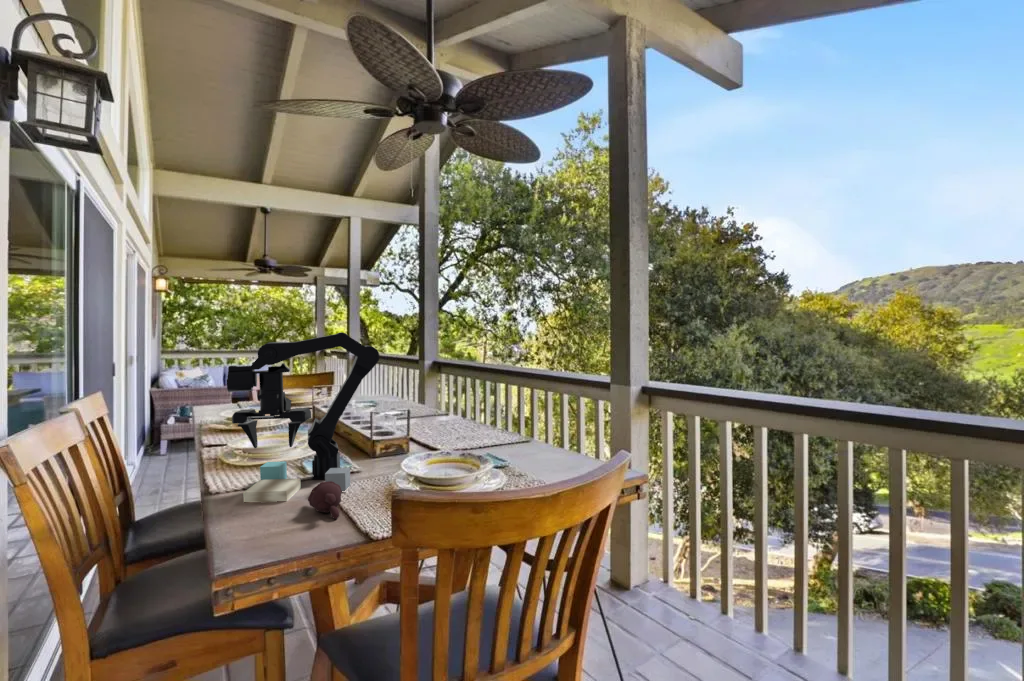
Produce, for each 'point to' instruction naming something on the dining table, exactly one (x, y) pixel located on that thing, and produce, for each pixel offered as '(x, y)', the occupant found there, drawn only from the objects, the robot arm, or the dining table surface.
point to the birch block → (272, 490)
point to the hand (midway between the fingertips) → (273, 447)
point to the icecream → (326, 498)
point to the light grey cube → (339, 477)
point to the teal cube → (273, 470)
